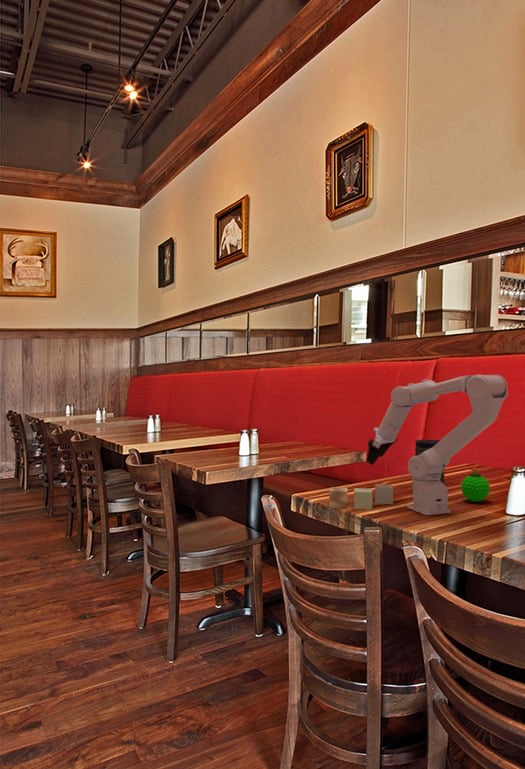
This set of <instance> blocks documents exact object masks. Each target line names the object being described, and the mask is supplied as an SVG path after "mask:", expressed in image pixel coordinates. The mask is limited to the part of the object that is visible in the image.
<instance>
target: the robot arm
mask: <svg viewBox="0 0 525 769" xmlns="http://www.w3.org/2000/svg"><path fill="white" fill-rule="evenodd" d="M455 392H462V393H463V394H467V396H468V398H469V402H470V405H471V409H472V412H471V413H470V414H469V415H468V416H467V417H466V418H464V419H463V420H462V421H461V422H460V423H459V424H458V425H456V426H455V427H454V428H453V429H452V430H451V431H450V432H449V433H447V434H446V435H445V436H444V437H442V438H441V439H440V441H439V442H438V443H437V444H436V445H435V446H434V447H432V448H430V449H428V450H426V451H424V452H422V453H421V454H420V455H418V456H415V455H414V456H412V457H410V458H409V459H408V462H407V470H408V473H409V474H410V476H411V480H412V479H413V492H412V494H413V495H412V496H413V497H412V498H413V499H412V500H413V501H412V504H413V505H412V504H411V505H407V506H406V508H407V509H409V510H412V511H414V512H417V513H418V514H419V513H420V514H421V515H425V516H433V515H442V514H443V515H445V514H450V513H451V510H449V504H448V503H449V498H448V497H449V495H448V492H449V491H448V488H447V486H446V485H445V483H444V484H443V483H441V481H440V478H441V474H442V473H443V472H444V473H445V470H446V466H448V465H449V464H450V462H451V460H450V459H451V458H452V457H453V456H455V455H456V454H457V453H458V452H460V451H461V450H462V449H463V448H465V447H466V446H467V445H468V444H469V443H470V442H471V441H473V440H474V439H475V438H477V436H480V434H481V433H482V432H483V431H485V430H486V429H487V428H488V427H490V425H492V424H494V422H496V420H497V418H498V416H499V413H500V411H501V407H502V405H503V402H504V401H505V399H506V398H508V396H509V394H508V382H507V381H506V379H505V378H504V377H503V376H501V375H499V374H491V375H490V374H489V375H487V374H474V375H462V376H457V377H455V378H451V379H448V380H444V381H440V382H435V381H434V380H431V379H430V380H429V379H428V378H425V379H422V380H421V382H417V383H413V382H411V383H408V384H407V386H402V385H398V386H396V387H395V388H393V389H392V391H391V393H390V400H391V402H390V404H389V406H388V408H387V411H386V412H385V415H384V417H382V420H381V422H380V424H379V427H374V428H373V432H375V438H374V439H372V438H371V439H369V440H368V443H367V445H368V452H367V456H366V463H367V464H369V465H372V466H373V465H374V464H375V463H376V462H377V460H378V459H379V458H382V457H383V456H384V455H385V454H386V452H387V451H388V450H389V449H390V447H391V446H392V445H394V444H395V443H396V442H398V439H397V436H398V434H399V432H400V430H401V429H402V426H403V424H404V422H405V420H406V418H407V417H408V415H409V413H410V411H411V409H412V408H413V407H415V406H416V405H418V404H424V403H429V402H434V401H436V400H437V399H438V398H439V396H440V395H445V394H451V393H455Z"/></svg>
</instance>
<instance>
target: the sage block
mask: <svg viewBox="0 0 525 769" xmlns="http://www.w3.org/2000/svg"><path fill="white" fill-rule="evenodd" d="M353 491H354V493H353V495H354V496H353V498H354V499H353V501H354V502H353V503H354V507H353V508H354V510H369V511H370V510H371V511H372V510H373V489H372V488H361V487H360V488H357V487H355V488H354V490H353Z"/></svg>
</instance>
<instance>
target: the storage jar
mask: <svg viewBox="0 0 525 769" xmlns="http://www.w3.org/2000/svg"><path fill="white" fill-rule="evenodd" d="M440 440H441V439H440ZM440 440H439V439H416V440H415V449H414V452H415V453H414V456H418V455H420V454H421V453H422V452H424V451H426V450H428V449H430V448H432V447H434V446H435V445H436V444H437V443H438V442H439V441H440ZM440 481H441V483H443V484H444V485H445V471H444V472H443V473H442V474H441V478H440Z"/></svg>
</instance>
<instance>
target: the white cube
mask: <svg viewBox="0 0 525 769" xmlns="http://www.w3.org/2000/svg"><path fill="white" fill-rule="evenodd" d="M374 502H375V503H374V504H375V505H384V504H393V505H394V486H393V484H379V483H376V484H375V485H374Z"/></svg>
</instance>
